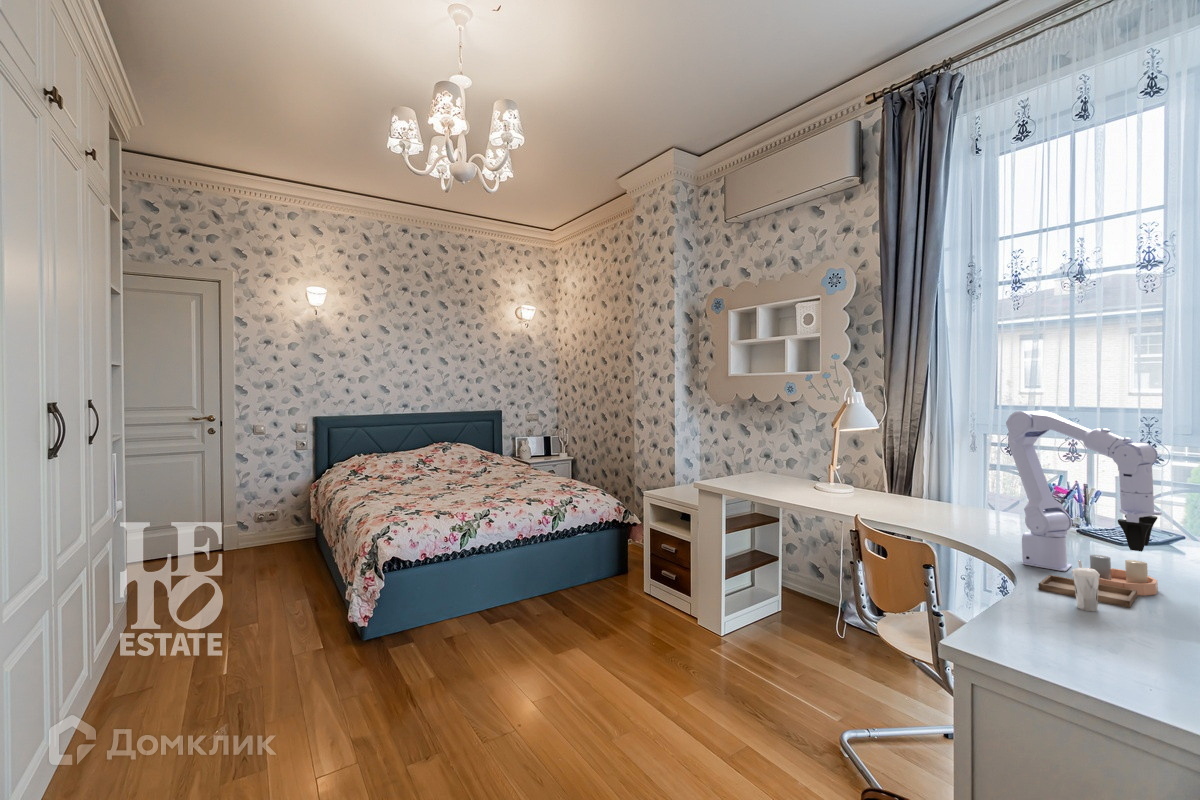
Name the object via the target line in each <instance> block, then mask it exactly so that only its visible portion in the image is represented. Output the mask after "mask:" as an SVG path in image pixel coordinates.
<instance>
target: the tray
mask: <svg viewBox="0 0 1200 800" xmlns="http://www.w3.org/2000/svg"><path fill="white" fill-rule="evenodd" d="M1038 590H1039V591H1045V592H1050V593H1055V594H1059V595H1062V596H1064V595H1065V596H1069V597H1075V598H1076V594H1075V587H1074V580H1073V578H1069V577H1064V576H1058V575H1053V574H1048V575H1047V576H1046V577H1045V578H1043V579H1042V580H1041V581H1039V582H1038ZM1137 598H1138V595H1137V591H1136V590H1130V589H1125V588H1119V587H1114V586H1108V585H1103V584H1099V588H1098V603H1099V602H1100V603H1104V604H1109V605H1114V606H1118V607H1122V608H1123V607H1124V608H1129V609H1130V608H1131V607H1132V605H1133V604H1134V602H1135V601H1136V600H1137Z"/></svg>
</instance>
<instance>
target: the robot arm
mask: <svg viewBox="0 0 1200 800" xmlns="http://www.w3.org/2000/svg"><path fill="white" fill-rule="evenodd" d="M1005 425H1006V428H1007V430H1008V433H1007V434H1008V435H1007V443H1008V446H1009V449H1010V451H1011V452H1010V453H1011V455H1012V458H1013V461H1014V463H1015V466H1016V468H1017V472H1018V474H1019V477H1020V481H1021V483H1022V486H1023V489H1024V491H1025V495H1026V497H1027V500H1028V502H1027V504H1026V505H1025V506H1024V508H1023V511H1024V514H1025V519H1024V523H1025V526H1026V527H1027V529H1028V530H1029V531H1024V532H1023V533H1022V535H1021V552H1022V553H1021V555H1022V562H1021V564H1022V565H1025V566H1026V565H1027V566H1030V567H1031V566H1032V567H1037V568H1042V569H1043V568H1044V569H1050V570H1055V571H1060V572H1067V571H1068V569H1070V568H1071V567H1072V566H1073V564H1072V563H1068V554H1067V550H1068V549H1067V535H1068V531H1070V530H1071V528H1072V526H1073V520H1072V517H1071V516H1070V514H1069V513H1068V512H1067V511H1066V510H1065V508H1064V505H1063V504H1062V503H1061V502H1060V501H1058V500H1056V499H1055V498H1054V496H1053V494H1052V491H1051V489H1050V486H1049V483H1048V480H1047V478H1046V476H1045V473H1044V471H1043V468H1042V465H1041V463H1040V462H1041V461H1040V459H1039V457H1038V455H1037V452H1036V449H1035V446H1034V445H1035V443H1036V442H1037V440H1038V439H1039V438H1041V437H1042V436H1043V435H1045V434H1047V432H1049V431H1054V432H1055V433H1056V432H1057V433H1060V434H1061V435H1062V434H1063V435H1065V436H1068V437H1071V438H1073V439H1076V440H1078V441H1082V443H1083V445H1084V447H1085V448H1087V449H1089V450H1090V451H1094V452H1096V453H1098V454H1101V455H1103V456H1106V457H1108V458H1111V459H1112V460H1113V462H1114V464H1116V465H1117V471H1118V473H1119V475H1118V476H1119V499H1120V508H1119V512H1120V513H1122V514H1123V515H1124V518H1125V519H1122V518H1119V519H1117V524H1118V525H1119V526H1120V528H1121V530H1122V531H1123V533H1124V536H1125V540H1126V542H1127V545H1128V548H1129V550H1130V551H1134V552H1141V553H1142V552H1143V551H1144V549H1145V546H1148V545H1149V544H1150V543H1149V542H1150V538H1151V533H1152V531H1153V527H1154V525H1155V523H1156V521H1157V520H1158V516H1162V514H1163V513H1162V511H1160V510H1155V499H1154V498H1155V497H1154V481H1153V480H1154V479H1153V464H1154V463H1155V462H1156V461H1157V460H1158V457H1159V454H1158V451H1157V449H1156V447H1154V446H1153V445H1151V444H1149V443H1148V442H1147V441H1136V442H1133V441H1132V440H1133V439H1132V438H1130V437H1122V436H1120V435H1117V434H1115V433H1112V432H1111V429H1108V428H1106V427H1105V428H1094V429H1090V428H1087V427H1085V426H1082V425H1080V424H1078V423H1076V422H1073V421H1071V420H1068V419H1067V418H1064V417H1062V416H1059V415H1058V414H1056V413H1055V412H1049V411H1047V410H1045V409H1040V410H1030V411H1029V410H1027V411H1023V410H1018V411H1013V412H1012V413H1011V414H1010V415H1009V417H1008V418H1007V420H1006V421H1005Z"/></svg>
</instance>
